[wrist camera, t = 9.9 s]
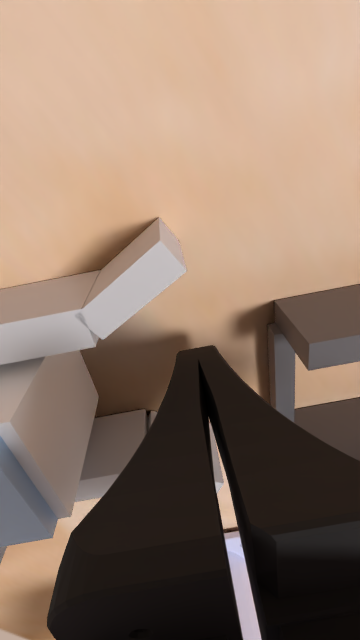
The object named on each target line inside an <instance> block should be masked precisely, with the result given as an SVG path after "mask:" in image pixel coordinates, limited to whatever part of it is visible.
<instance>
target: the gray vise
mask: <svg viewBox="0 0 360 640" xmlns="http://www.w3.org/2000/svg"><path fill="white" fill-rule="evenodd" d="M274 313H275V323H272V324H267V331H268V356H269V381H270V405H271V406H272V407H273V408H275V409H276V410H277V411H279V412H280V413H281V414H283V415H284V416H285V417H287V418H288V419H290V420H291V421H292V422H294V423H295V424H297V425H298V426H300V427H301V428H303V429H305V430H306V431H308V432H309V433H311V434H312V435H314V436H316V437H317V438H319V439H320V440H322V441H324V442H325V443H327V444H329V445H330V446H332V447H334V448H336V449H338V450H339V451H341V452H343V453H345V454H347V455H349V456H351V457H353V458H355V459H357V460H359V461H360V398H355V399H350V400H344V401H339V402H333V403H328V404H322V405H317V406H311V407H306V408H300V409H294V403H295V352H296V354H297V355H298V357H299V358H300V359H301V361H302V362H303V364H304V365H305V367H306V368H307V369H308V371H309V370H314V369H320V368H325V367H331V366H336V365H342V364H347V363H353V362H358V361H360V284H359V285H354V286H348V287H343V288H338V289H332V290H327V291H322V292H317V293H311V294H306V295H301V296H295V297H290V298H285V299H280V300H274Z"/></svg>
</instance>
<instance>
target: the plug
mask: <svg viewBox="0 0 360 640" xmlns="http://www.w3.org/2000/svg"><path fill="white" fill-rule="evenodd" d="M98 400H99V396H98V393H97V391H96V388H95V386H94V384H93V381H92V379H91V376H90V374H89V372H88V369H87V367H86V364H85V362H84V360H83V357H82V355H81V352H80V350H77V351H71V352H66V353H61V354H56V355H50V356H45V357H40V358H34V359H29V360H24V361H18V362H13V363H8V364H2V365H0V547H3V546H9V545H15V544H20V543H26V542H32V541H38V540H43V539H49V538H53V535H54V531H55V527H56V524H57V520H58V519H60V518H66V517H71V515H72V510H73V506H74V502H75V498H76V493H77V489H78V485H79V481H80V476H81V472H82V468H83V464H84V459H85V455H86V451H87V447H88V442H89V438H90V434H91V429H92V425H93V421H94V417H95V412H96V408H97V404H98Z"/></svg>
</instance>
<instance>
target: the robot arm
mask: <svg viewBox="0 0 360 640" xmlns="http://www.w3.org/2000/svg"><path fill="white" fill-rule="evenodd" d="M208 416H209V417H208ZM209 420H210V423H211V426H212V429H213V433H214V436H215V439H216V443H217V446H218V449H219V452H220V456H221V459H222V462H223V466H224V469H225V472H226V476H227V480H228V483H229V487H230V492H231V497H232V501H233V506H234V511H235V515H236V520H237V525H238V529H239V531H235V532H229V533H224V531H223V526H222V520H221V515H220V509H219V504H218V498H217V493H216V486H215V479H214V470H213V459H212V449H211V438H210V428H209ZM47 627H48V629H49V630H50V632H51V634H52V635H53V636H54V638H55V639H56V640H360V461H359V460H357V459H355V458H353V457H351V456H349V455H347V454H345V453H343V452H341V451H339V450H338V449H336V448H334V447H332V446H330V445H329V444H327V443H325V442H324V441H322V440H320V439H319V438H317V437H316V436H314V435H312V434H311V433H309V432H308V431H306V430H305V429H303V428H301V427H300V426H298V425H297V424H295V423H294V422H292V421H291V420H290V419H288V418H287V417H285V416H284V415H283V414H281V413H280V412H279V411H277V410H276V409H275V408H273V407H272V406H271V405H270V404H268V403H267V402H266V401H265V400H264V399H262V398H261V397H260V396H259V395H258V394H257V393H256V392H255V391H254V390H252V389H251V388H250V387H249V386H248V385H247V384H246V383H245V382H244V381H243V380H242V379H241V378H240V377H239V376H238V375H237V373H236V372H235V371H234V370H233V369H232V368H231V367H230V366H229V365H228V363H227V362H226V361H225V360H224V358H223V357H222V356H221V354H220V353H219V351H218V350H217V348H216V347H215V346H213V345H210V346H205V347H200V348H194V349H189V350H183V351H179V352H178V353H177V356H176V362H175V367H174V370H173V374H172V377H171V380H170V383H169V386H168V389H167V392H166V394H165V397H164V399H163V401H162V403H161V406H160V408H159V410H158V413H157V415H156V417H155V419H154V421H153V423H152V425H151V426H150V428H149V430H148V432H147V434H146V435H145V437H144V439H143V440H142V442H141V444H140V445H139V447H138V448H137V450H136V452H135V453H134V455H133V456H132V458H131V459H130V461H129V462H128V464H127V465H126V467H125V468H124V469H123V471H122V472H121V473H120V475H119V476H118V477H117V479H116V480H115V481H114V483H113V484H112V485H111V487H110V488H109V489H108V491H107V492H106V493H105V494H104V496H103V497H102V498H101V499H100V500H99V502H98V503H97V504H96V505H95V506H94V507H93V508H92V510H91V511H90V512H89V513H88V514H87V515H86V517H85V518H84V519H83V520H82V521H81V522H80V523H79V525H78V526H77V527H76V528H75V529H74V530H73V531H72V532H71V535H70V538H69V541H68V543H67V546H66V549H65V552H64V555H63V558H62V561H61V564H60V567H59V570H58V574H57V578H56V583H55V587H54V591H53V596H52V600H51V604H50V608H49V613H48V617H47Z"/></svg>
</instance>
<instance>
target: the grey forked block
mask: <svg viewBox="0 0 360 640" xmlns="http://www.w3.org/2000/svg"><path fill="white" fill-rule="evenodd" d="M186 271H187V269H186V265H185V261H184V257H183V254H182V250H181V246H180V242H179V240H178V239H177V238H176V237H175V235H174V234H173V233H172V232H171V231H170V229H169V228H168V227H167V226H166V225H165V224H164V222H163V221H162V220H161V219H160V218H157V219H156V220H155V221H154V222H153V223H152V224H151V225H150V226H149V227H148V228H147V229H145V230H144V231H143V232H142V233H141V234H140V235H139V236H138V237H137V238H136V239H134V240H133V241H132V242H131V243H130V244H129V245H128V246H127V247H126V248H125V249H123V250H122V251H121V252H120V253H119V254H118V255H117V256H116V257H115V258H114V259H113V260H111V261H110V262H109V263H108V264H107V265H106V266H105V267H104V268H103V269H102V270H97V271H92V272H87V273H82V274H77V275H72V276H67V277H61V278H56V279H51V280H46V281H41V282H36V283H31V284H25V285H20V286H15V287H10V288H5V289H0V365H2V364H8V363H13V362H18V361H24V360H29V359H34V358H40V357H45V356H50V355H56V354H61V353H66V352H71V351H77V350H82V349H87V348H93V347H96V344H97V341H98V338H101V339H102V340H104V339H105V338H106V337H107V336H109V335H110V334H111V333H112V332H113V331H115V330H116V329H117V328H118V327H120V326H121V325H122V324H123V323H124V322H126V321H127V320H128V319H129V318H130V317H132V316H133V315H134V314H135V313H137V312H138V311H139V310H140V309H141V308H143V307H144V306H145V305H146V304H148V303H149V302H150V301H151V300H152V299H154V298H155V297H156V296H157V295H158V294H160V293H161V292H162V291H163V290H165V289H166V288H167V287H168V286H169V285H171V284H172V283H173V282H174V281H175V280H177V279H178V278H179V277H180V276H182V275H183V274H184V273H185V272H186ZM157 413H158V412H156V411H151V412H150V415H149V417H147V414H146V411H145V409H142V410H136V411H131V412H125V413H120V414H114V415H109V416H104V417H98V418H94V421H93V425H92V429H91V434H90V438H89V442H88V447H87V451H86V455H85V459H84V464H83V468H82V472H81V476H80V481H79V485H78V489H77V493H76V498H75V502H78V501H84V500H89V499H95V498H101V497H103V496H104V494H105V493H106V492H107V491H108V489H109V488H110V487H111V485H112V484H113V483H114V481H115V480H116V479H117V477H118V476H119V475H120V473H121V472H122V471H123V469H124V468H125V467H126V465H127V464H128V462H129V461H130V459H131V458H132V456H133V455H134V453H135V452H136V450H137V448H138V447H139V445H140V444H141V442H142V440H143V439H144V437H145V435H146V434H147V432H148V430H149V428H150V426H151V425H152V423H153V421H154V419H155V417H156V415H157ZM209 428H210V438H211V449H212V459H213V470H214V479H215V486H216V493H218V491H219V490H220V488H221V487H222V485H223V484H224V481H223V476H222V471H221V466H220V462H219V457H218V452H217V447H216V442H215V437H214V433H213V429H212V426H211V423H209ZM6 548H7V546H3V547H0V563H1V561H2V558H3V555H4V553H5V550H6Z"/></svg>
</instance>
